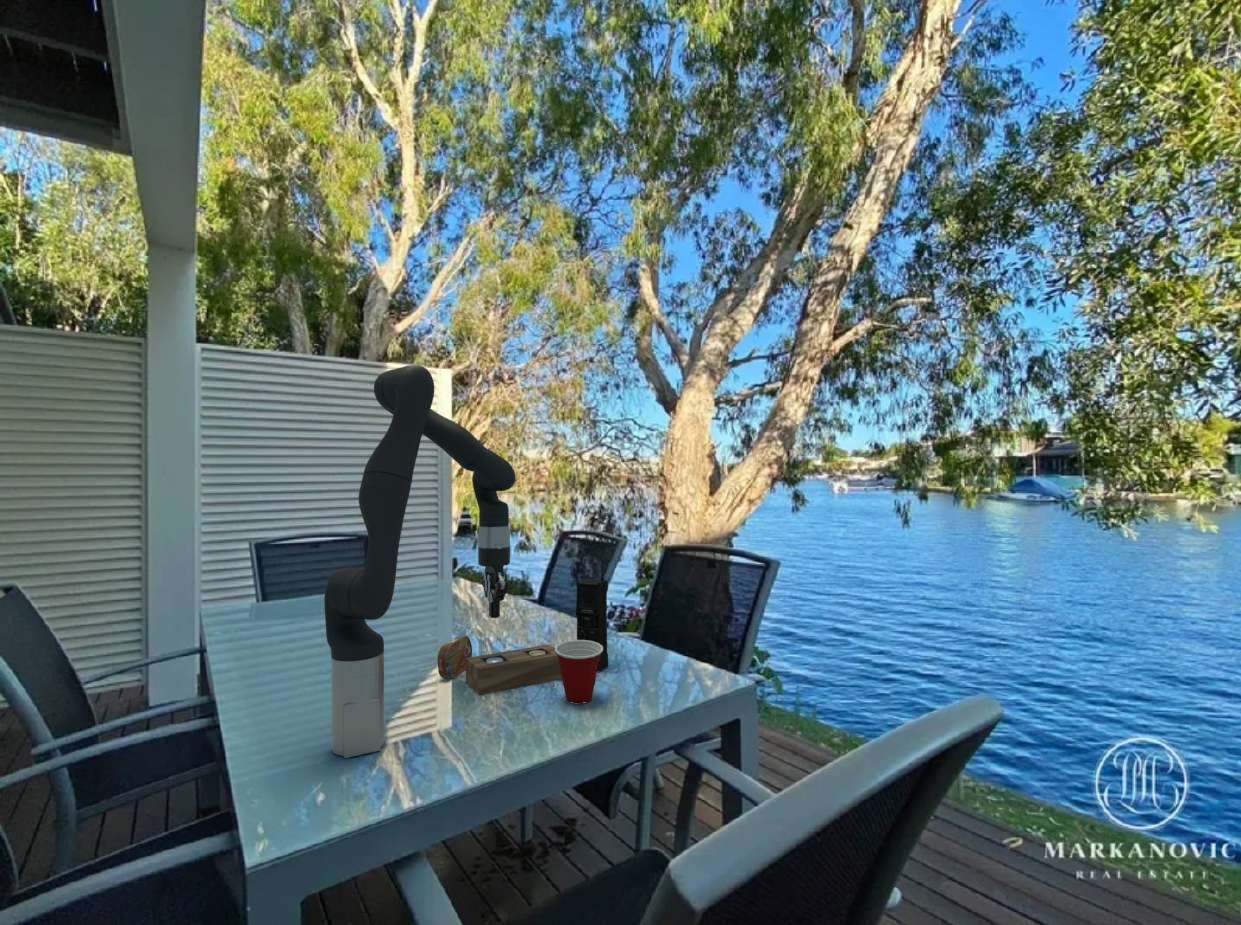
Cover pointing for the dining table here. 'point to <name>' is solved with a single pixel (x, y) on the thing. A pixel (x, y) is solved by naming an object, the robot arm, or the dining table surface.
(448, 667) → the tin
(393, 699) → the dining table surface
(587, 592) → the portable radio
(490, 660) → the steel peg
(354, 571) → the robot arm
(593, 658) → the plastic cup
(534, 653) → the birch peg
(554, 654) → the collar block
